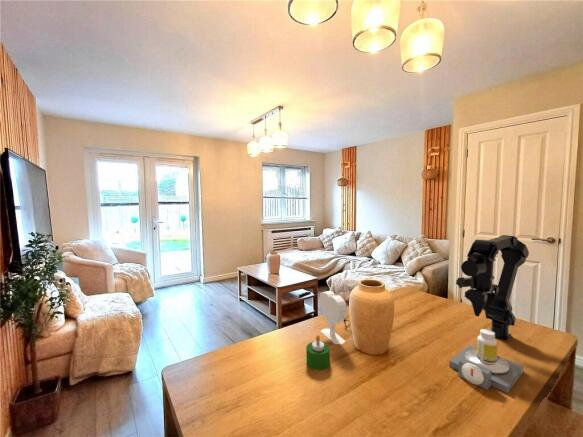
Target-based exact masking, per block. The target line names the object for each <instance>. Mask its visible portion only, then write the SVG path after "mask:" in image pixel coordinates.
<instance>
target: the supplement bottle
mask: <svg viewBox="0 0 583 437" xmlns="http://www.w3.org/2000/svg"><path fill="white" fill-rule="evenodd" d="M479 331H480V332H479V335H478V336H477V338H476V339H477V340H476V348H477V358H478V360H480V361H481V362H484V363H487V364H495V363H496V361H497V356H498V341H497V340H496V337H495V333H494V332H493V331H491V329H486V328H481V329H480V330H479Z"/></svg>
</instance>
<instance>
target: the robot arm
mask: <svg viewBox="0 0 583 437" xmlns="http://www.w3.org/2000/svg"><path fill="white" fill-rule="evenodd" d="M499 251H500V253H501V255H500V256H501V259H502V261H503V266H502V270H501V273H500V276H499V280H498V284H495V283H493V281H494V279H495V276H494V262H496V256H498V254H499ZM529 254H530V252H529V248H528V247H527V245H526V244H525V243H524V242H522V241H520V240H519V239H518V237H517V236H514V235H508V234H506V235H505V234H503V235H500V236H497V237H495V238H491V239H475V240H474V241H473V242H472V244H471V245H470V249H469V250H468V253H467V256H466V257H467V259H466V260H465V261H463V262H462V264H461V266H460V268H461V271H462V273H463V274H464V275H465V276H467V277H463V276H462V277H457V279H456V282H455V285H457V286H458V288H459V289H463V288H469V287H470V288H469V289H467V290H466V291H464V298H465V299H466V300H468V301H469V302H470V303H471V305H472V310H473V312H474V316H476V317H480V315H481V313H482V311H484V314H485V318H486V319H488V320H491V321H490V323H491V324H490V325H491V328H490V330H491V331H493V332H494V333H495V338H499V339H501V340H504V341H508V340H509V339H510V338H511V337H512V334H511V333H509V329H510V327H511V326H512V327H513V326H515V324H516V316H515V315H514V312H513V307H512V304H511V302H510V298H511V294H512V290H513V288H514V285H515V284H514V283H515V280H516V276H517V273H518V270H519V268H520V267H521V266H522V265H524V264H525V263H526V260H527V258H529Z"/></svg>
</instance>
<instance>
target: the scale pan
mask: <svg viewBox="0 0 583 437" xmlns="http://www.w3.org/2000/svg"><path fill="white" fill-rule="evenodd" d="M501 357H502V356H499V355H497V361H496V363H495V364H487V363H484V362H481V361H480V360H478V358H477V350H470V351H467V352H466V353H465V359H467V360H469V361H471V362H474V363H476V364H478V365H481V366H483V367H485V368H488V369H490V370H492V373H493V374H505V373H507V372H508V371H509V364H508V363H507V362H506V361H505V360H504V359H505V358H504V359H502V358H503V357H502V358H501Z"/></svg>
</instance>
